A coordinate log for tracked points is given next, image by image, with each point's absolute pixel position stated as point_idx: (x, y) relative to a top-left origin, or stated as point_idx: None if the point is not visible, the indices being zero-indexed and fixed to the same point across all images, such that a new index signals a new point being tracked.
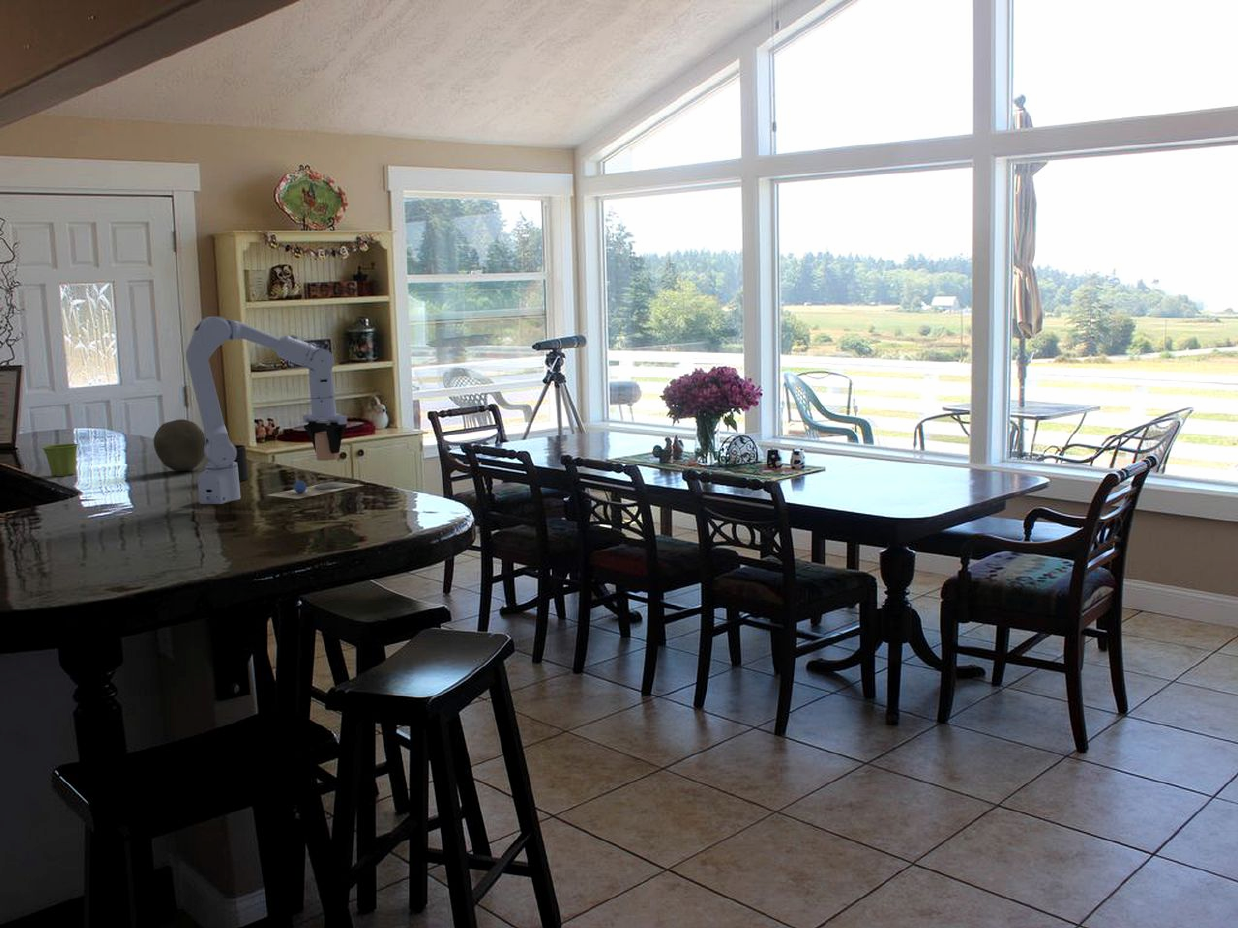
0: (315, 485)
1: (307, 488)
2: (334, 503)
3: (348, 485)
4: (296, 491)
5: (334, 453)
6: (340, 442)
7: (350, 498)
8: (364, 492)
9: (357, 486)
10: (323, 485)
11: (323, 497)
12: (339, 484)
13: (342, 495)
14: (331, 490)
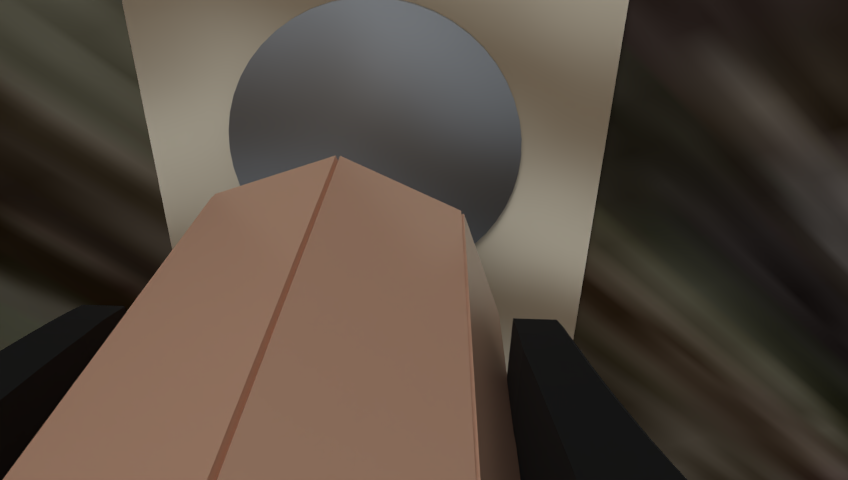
0: (155, 144)
1: None
2: (800, 437)
3: (479, 12)
4: None
5: (502, 365)
6: (643, 444)
7: (805, 293)
8: (756, 59)
9: (624, 16)
10: (288, 163)
11: None
12: (394, 62)
13: (645, 234)
14: (530, 259)
